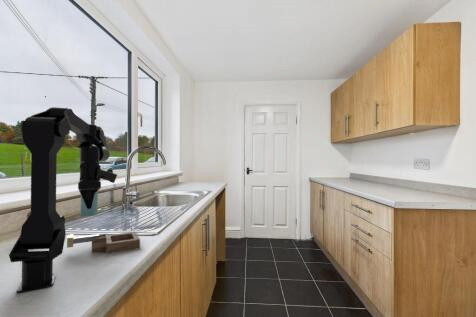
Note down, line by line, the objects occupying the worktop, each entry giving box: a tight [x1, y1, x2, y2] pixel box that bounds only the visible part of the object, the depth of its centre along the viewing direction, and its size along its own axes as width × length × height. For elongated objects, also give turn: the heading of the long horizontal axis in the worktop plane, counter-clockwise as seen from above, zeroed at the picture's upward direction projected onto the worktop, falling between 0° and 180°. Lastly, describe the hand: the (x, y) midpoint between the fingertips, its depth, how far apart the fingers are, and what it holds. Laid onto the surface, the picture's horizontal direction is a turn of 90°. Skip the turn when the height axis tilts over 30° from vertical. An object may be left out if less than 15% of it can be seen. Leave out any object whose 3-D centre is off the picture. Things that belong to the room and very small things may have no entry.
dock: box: [91, 231, 141, 255], centre depth 84 cm, size 10×14×4 cm
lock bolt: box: [66, 233, 100, 248], centre depth 79 cm, size 3×8×3 cm, turn 120°
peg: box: [80, 190, 99, 217], centre depth 86 cm, size 5×5×9 cm
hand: (89, 207), depth 86 cm, fingers closed on peg, 5 cm apart
